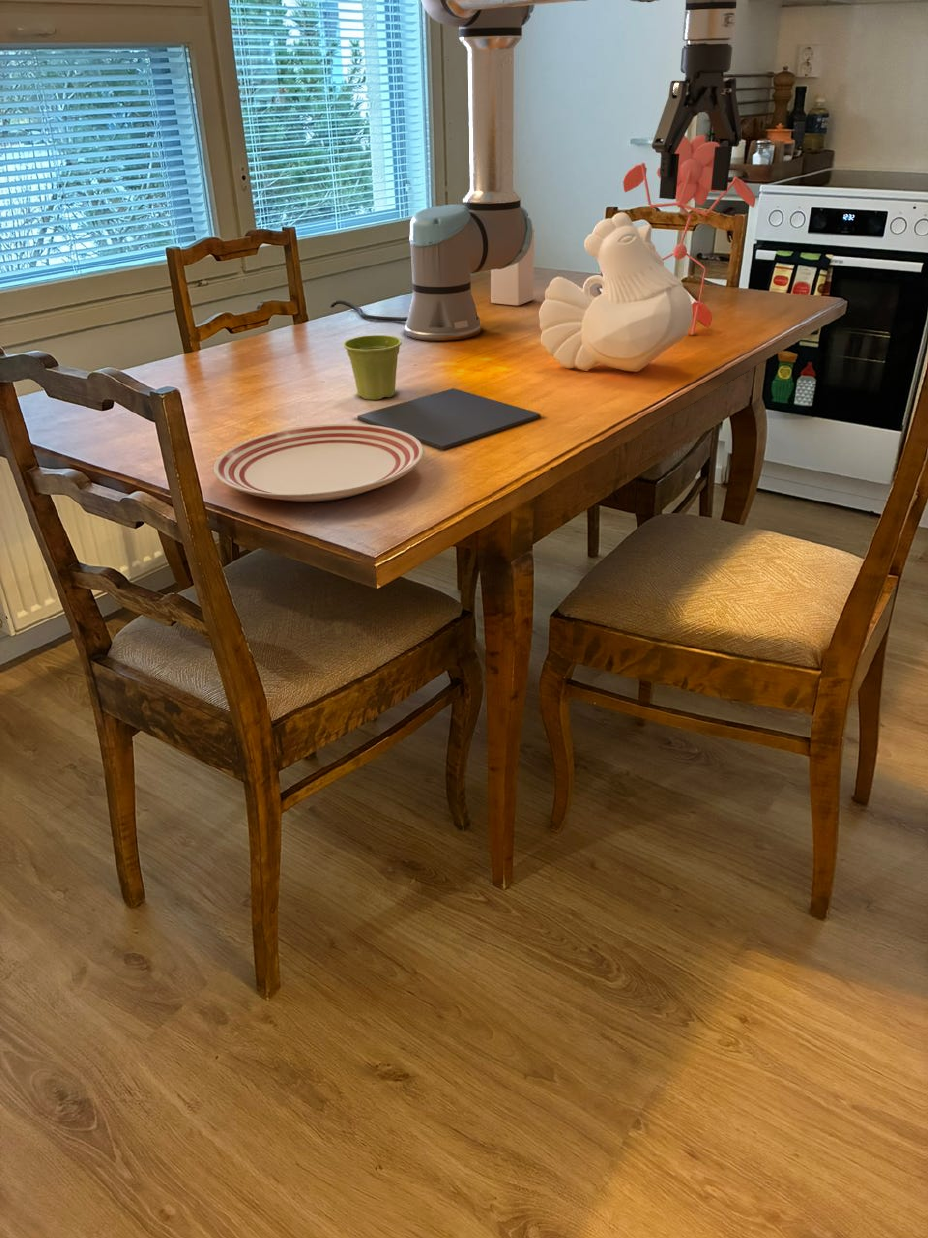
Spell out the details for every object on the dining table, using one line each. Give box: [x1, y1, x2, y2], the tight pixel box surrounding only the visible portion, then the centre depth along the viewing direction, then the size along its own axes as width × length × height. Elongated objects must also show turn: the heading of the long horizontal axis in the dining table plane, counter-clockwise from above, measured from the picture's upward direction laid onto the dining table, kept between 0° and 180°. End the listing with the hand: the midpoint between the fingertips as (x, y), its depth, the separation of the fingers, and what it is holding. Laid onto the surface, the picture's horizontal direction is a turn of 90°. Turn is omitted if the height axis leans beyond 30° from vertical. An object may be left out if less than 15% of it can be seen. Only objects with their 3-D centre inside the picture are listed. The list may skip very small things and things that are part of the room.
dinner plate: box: [213, 423, 425, 503], centre depth 127 cm, size 27×27×3 cm
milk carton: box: [490, 227, 535, 307], centre depth 215 cm, size 7×7×19 cm
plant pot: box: [343, 334, 403, 401], centre depth 157 cm, size 9×9×9 cm
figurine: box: [622, 134, 756, 338], centre depth 187 cm, size 15×26×35 cm, turn 64°
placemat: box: [356, 387, 542, 451], centre depth 148 cm, size 20×20×1 cm
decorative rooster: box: [538, 211, 694, 373], centre depth 166 cm, size 25×16×25 cm
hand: (693, 194), depth 157 cm, fingers open, 13 cm apart
